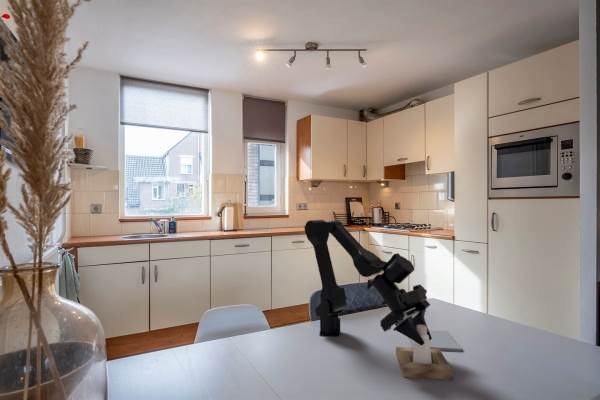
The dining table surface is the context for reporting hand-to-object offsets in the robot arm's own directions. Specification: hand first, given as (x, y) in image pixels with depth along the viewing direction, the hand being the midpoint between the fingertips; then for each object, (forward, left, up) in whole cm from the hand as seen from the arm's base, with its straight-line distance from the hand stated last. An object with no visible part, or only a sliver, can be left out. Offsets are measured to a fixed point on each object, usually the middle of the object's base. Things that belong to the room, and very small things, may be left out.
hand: (426, 342), depth 87 cm
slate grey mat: (+6, +19, -7) cm, 21 cm away
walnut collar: (-1, +1, -7) cm, 7 cm away
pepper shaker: (-1, +1, -7) cm, 7 cm away
